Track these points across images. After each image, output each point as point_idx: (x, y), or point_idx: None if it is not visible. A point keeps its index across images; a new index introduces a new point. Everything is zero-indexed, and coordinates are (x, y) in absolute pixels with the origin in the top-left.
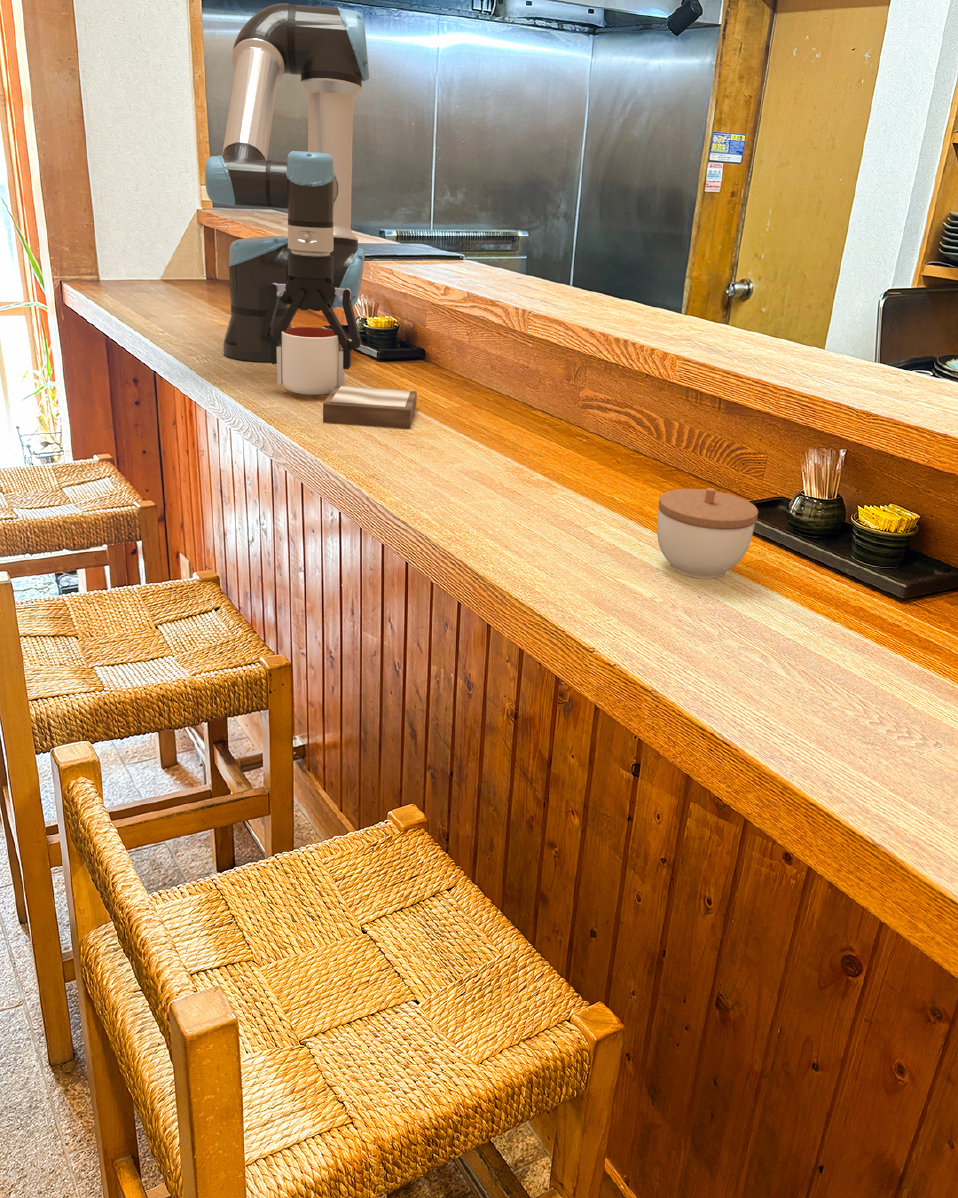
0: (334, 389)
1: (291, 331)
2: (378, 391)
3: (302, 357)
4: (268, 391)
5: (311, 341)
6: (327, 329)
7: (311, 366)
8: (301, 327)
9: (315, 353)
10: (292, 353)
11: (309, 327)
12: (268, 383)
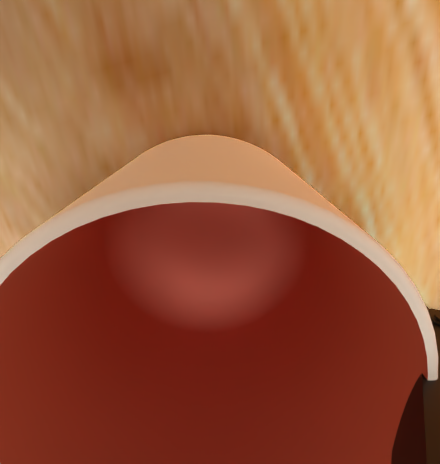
0: None
1: (9, 285)
2: None
3: (181, 429)
4: (57, 210)
5: None
6: (343, 237)
7: (221, 395)
8: (69, 230)
9: (243, 447)
10: (128, 427)
11: (150, 203)
12: (11, 70)
